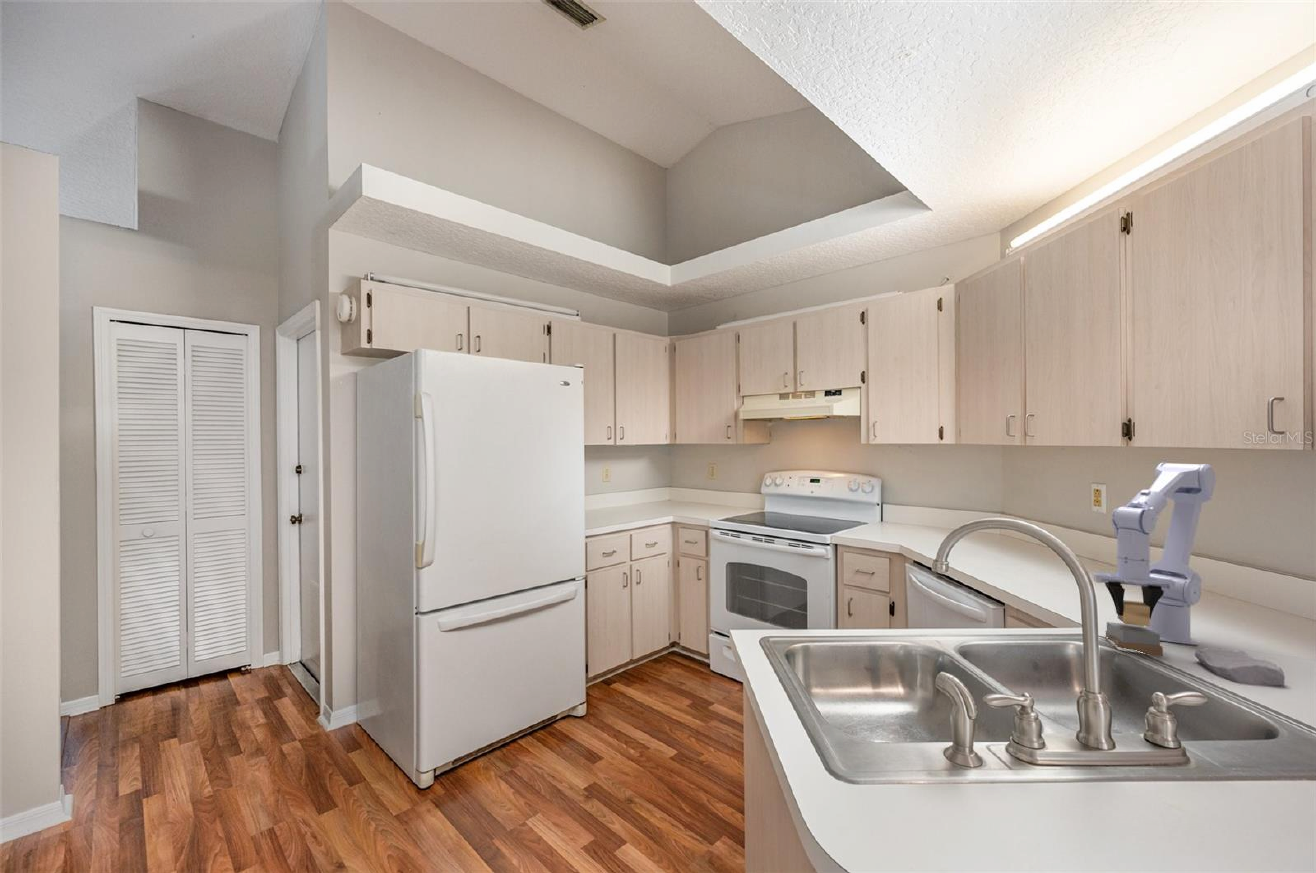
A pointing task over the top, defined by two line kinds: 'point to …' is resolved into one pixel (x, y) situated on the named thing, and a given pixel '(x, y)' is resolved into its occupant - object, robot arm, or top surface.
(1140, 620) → the oak cube
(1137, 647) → the bottom slab
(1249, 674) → the stone block
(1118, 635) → the top slab
